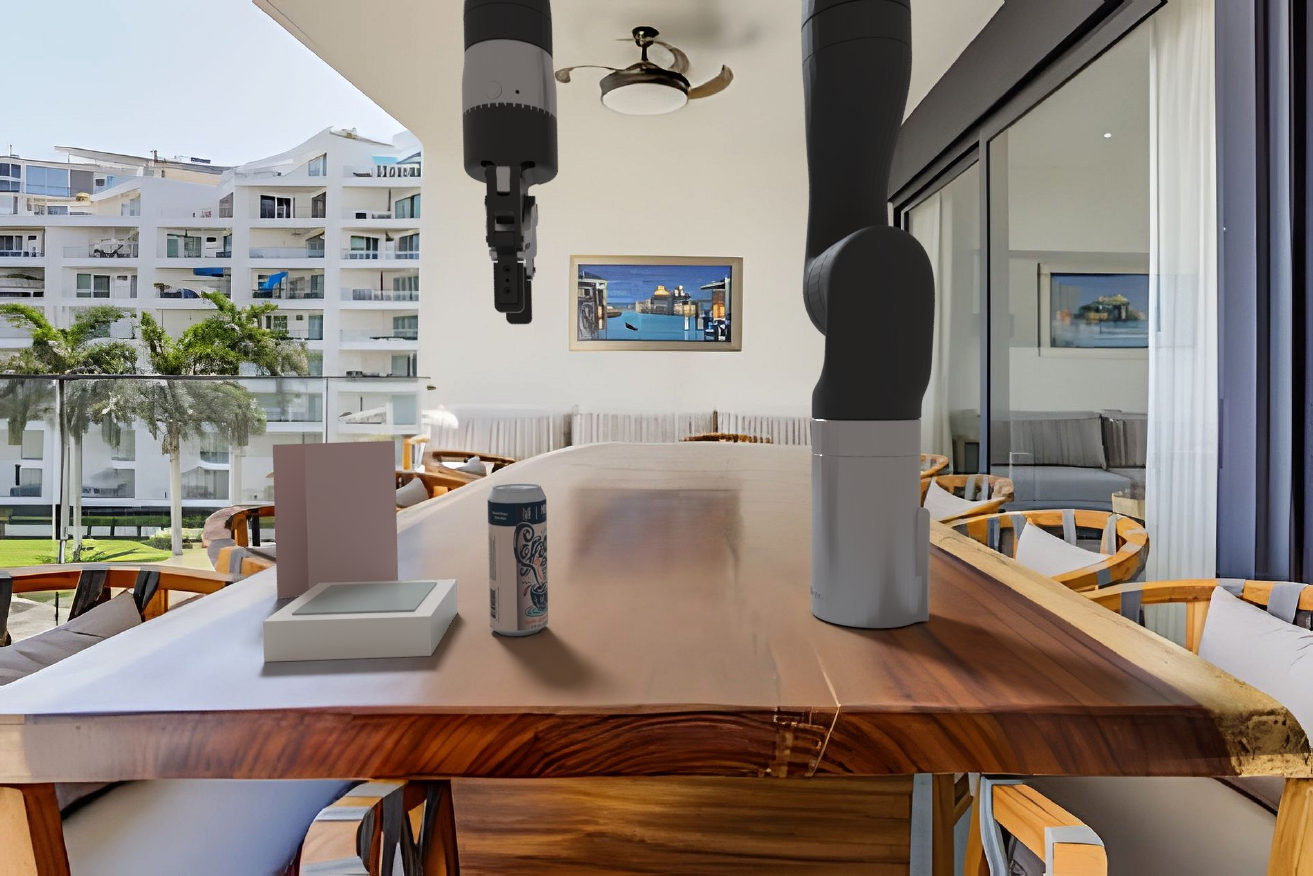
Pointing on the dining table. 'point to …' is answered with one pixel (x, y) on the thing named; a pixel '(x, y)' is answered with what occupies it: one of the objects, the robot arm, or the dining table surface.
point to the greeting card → (334, 514)
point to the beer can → (517, 559)
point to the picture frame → (362, 621)
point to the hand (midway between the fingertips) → (514, 318)
